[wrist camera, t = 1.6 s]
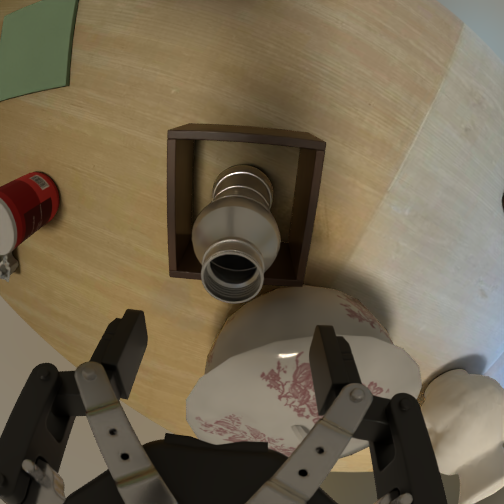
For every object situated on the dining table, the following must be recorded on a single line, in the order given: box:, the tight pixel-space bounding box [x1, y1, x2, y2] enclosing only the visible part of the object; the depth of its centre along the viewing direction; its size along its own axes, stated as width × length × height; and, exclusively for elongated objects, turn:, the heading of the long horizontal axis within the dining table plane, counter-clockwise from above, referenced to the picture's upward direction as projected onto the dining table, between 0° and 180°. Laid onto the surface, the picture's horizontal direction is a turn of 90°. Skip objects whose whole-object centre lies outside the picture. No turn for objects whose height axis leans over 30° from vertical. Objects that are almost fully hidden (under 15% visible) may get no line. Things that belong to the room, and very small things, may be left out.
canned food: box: [0, 172, 59, 255], centre depth 31 cm, size 8×8×11 cm
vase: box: [420, 369, 504, 504], centre depth 41 cm, size 19×21×30 cm
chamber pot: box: [186, 285, 422, 459], centre depth 37 cm, size 28×28×21 cm
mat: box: [0, 0, 79, 101], centre depth 26 cm, size 14×14×1 cm
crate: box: [167, 123, 326, 287], centre depth 32 cm, size 15×14×9 cm
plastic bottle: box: [192, 165, 281, 303], centre depth 27 cm, size 6×7×20 cm
